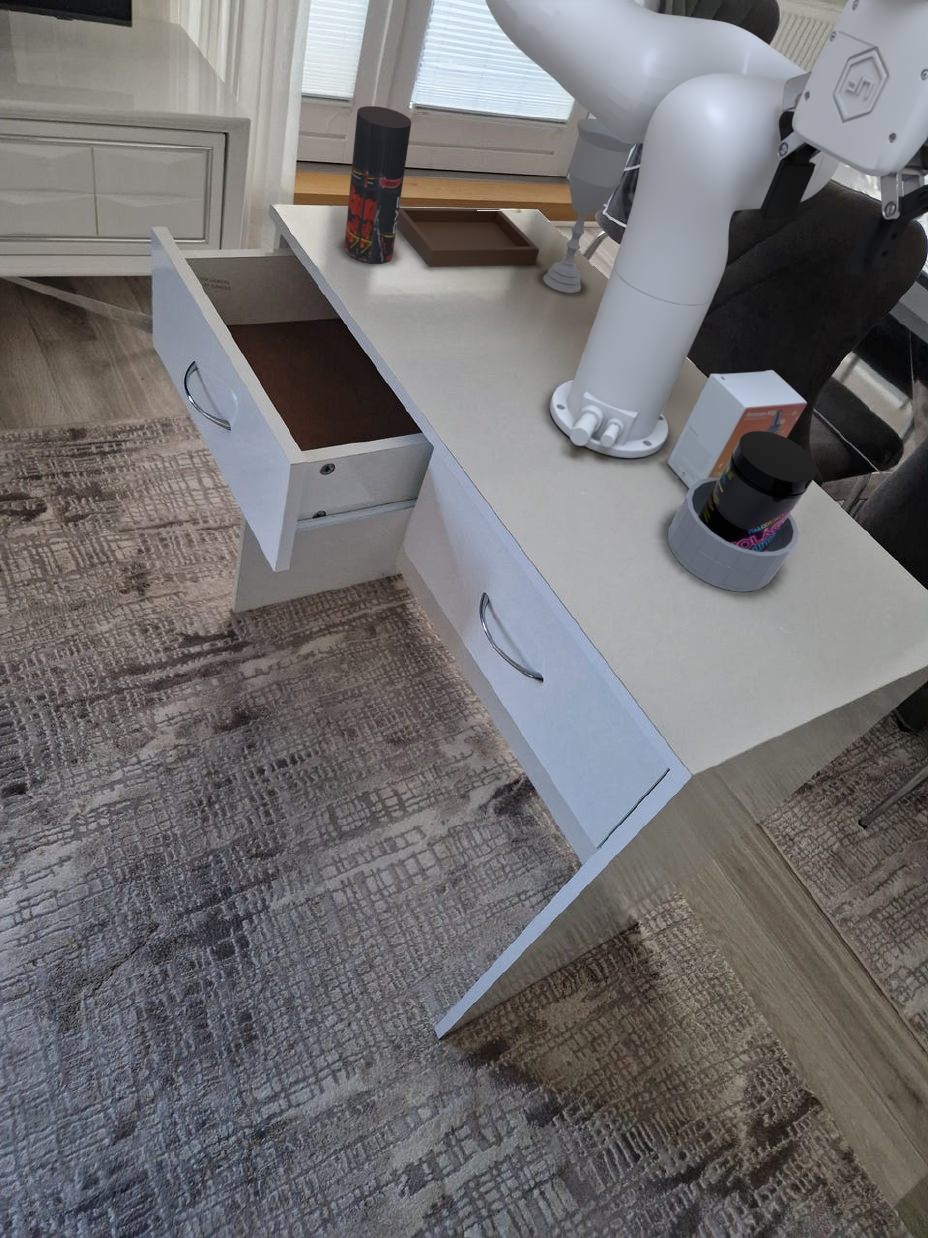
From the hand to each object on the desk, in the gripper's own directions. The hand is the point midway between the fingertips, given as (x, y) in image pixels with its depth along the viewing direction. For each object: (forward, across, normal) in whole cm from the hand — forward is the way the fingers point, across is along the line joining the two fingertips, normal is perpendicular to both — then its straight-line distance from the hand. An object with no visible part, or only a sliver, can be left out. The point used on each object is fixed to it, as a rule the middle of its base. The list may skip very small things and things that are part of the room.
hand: (816, 243), depth 61 cm
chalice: (+23, -42, +8) cm, 49 cm away
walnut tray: (+22, -52, -1) cm, 57 cm away
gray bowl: (+25, +6, -1) cm, 26 cm away
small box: (+25, -4, +5) cm, 26 cm away
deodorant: (+22, -50, -15) cm, 57 cm away
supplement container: (+25, +6, -1) cm, 26 cm away
